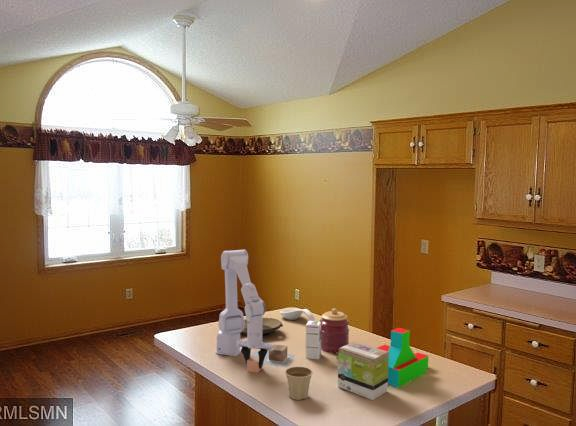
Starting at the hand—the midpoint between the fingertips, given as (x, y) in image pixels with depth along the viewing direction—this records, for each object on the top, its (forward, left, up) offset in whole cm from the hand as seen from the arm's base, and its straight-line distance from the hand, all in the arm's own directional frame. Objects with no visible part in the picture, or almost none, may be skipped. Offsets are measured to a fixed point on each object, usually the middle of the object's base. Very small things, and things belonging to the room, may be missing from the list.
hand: (254, 366), depth 191 cm
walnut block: (+5, +14, -1) cm, 15 cm away
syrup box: (+18, +21, -2) cm, 28 cm away
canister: (+24, +34, -2) cm, 42 cm away
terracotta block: (0, 0, -1) cm, 1 cm away
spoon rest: (-2, +69, -2) cm, 69 cm away
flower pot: (+22, -16, -2) cm, 27 cm away
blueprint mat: (+2, +13, -1) cm, 13 cm away
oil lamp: (-17, +44, -2) cm, 47 cm away
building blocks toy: (+52, +17, -2) cm, 54 cm away
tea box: (+42, -4, -2) cm, 42 cm away
